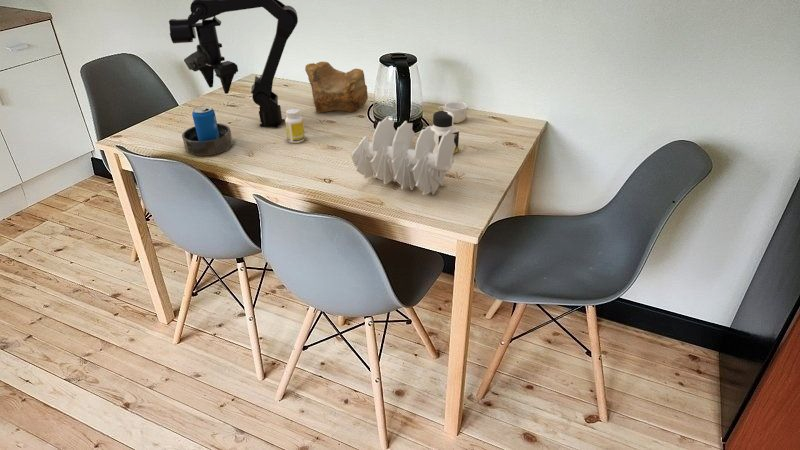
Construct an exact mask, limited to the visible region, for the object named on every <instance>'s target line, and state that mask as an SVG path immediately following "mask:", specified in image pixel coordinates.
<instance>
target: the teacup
mask: <svg viewBox="0 0 800 450" xmlns="http://www.w3.org/2000/svg"><path fill="white" fill-rule="evenodd" d="M441 108H442V109H443V111H449V112H451V113H452V114H453V115H454V121H453V124H459V123H462V122H463V121H464V120H465V119H467V116H468V109H469V105H468V104H467V103H466V102H463V101H455V100H454V101H448V102H446V103H445V104H444V105H441V106H439V107H438V111H441Z"/></svg>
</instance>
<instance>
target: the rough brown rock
mask: <svg viewBox="0 0 800 450" xmlns="http://www.w3.org/2000/svg"><path fill="white" fill-rule="evenodd" d="M304 70H305V73H306V75H307V78H308V82H309V84H310V86H311V87H310V88H311V92H312V99H313V104H314V107H315V112H317V113H326V112H330V111H343V112H350V113H351V112H355V111H357V109H361V108H362V107H363V106H365V105H366V104H367V101H368V98H369V94H368V86H367V84H366V79H365V78H366V77H365V73H364V70H363V69H360V68H353V69H351V70H349V71H346V72H345V71H342V70H339V69H336V68H334V67H333V66H332V65H331V64H330V63H329V62H328V61H318V62H316V63H314V62H312V63H307V64H306V65H305V69H304Z"/></svg>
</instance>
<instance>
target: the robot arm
mask: <svg viewBox="0 0 800 450" xmlns="http://www.w3.org/2000/svg"><path fill="white" fill-rule="evenodd" d="M257 8H263V9H264V10H266V11H267V12H268V13H269V14H270V15H271V16H273V18H275V19H276V20H277V21H276V29H275V34H274V37H273V40H272V43H271V46H270V49H269V52H268V55H267V58H266V62H265V65H264V68H263V71H262V73H261V75H260V76H259V77H258V76H257V75H255V76H254V82H253V83H252V85H251V90H250V94H252V97H251V99H252V100H253V102H254V104H256V105H258V107H259V108H258V109H259V111H258V115H259V122H260V124H259V127H261V128H262V127H263V128H275V129H276V128H277V129H278V128H279V127H280V126H281V125H282V124H283V123H284V122H285V118H283V114H282V109H281V108H282V107H281V105H280V104H279V96H278V94H276V93H275V92H273V84H274V83H273V82H274V79H275V76H276V73H277V70H278V67H279V65H280V61H281V59H282V56H283V53H284V50H285V47H286V44H287V41H288V39H289V38H290V37H291V36H292V34H293V32H294V30H295V28H296V27H297V26H298V22H299V19H298V12H297V10H296V9H295V8H294V7H293V6H291V5H286V4H284V3H283V2H281V1H280V0H192V2H191V4H190V7H189V9H190V12H191V13H190V14H189V15H188V17H187V18H182V19H181V18H180V19H179V18H178V19H177V18H170V19H169V21H168V23H169V37H170V40H171V42H172V44H187V43H193V42H194V39H195V40H196V39H198V44H197V45H196V51H194V52H192V53H191V54H189V55H188V56H186V57H185V58H184V59H183V62H184V63H185V65H186V66H187V68H188V70H189V71H193V72H198V71H199V72H200V73H201V75H202V76H203V78H204V80H205V82H206V84H207V86H208V87H209V88H210V89H211V88H213V87H214V76H215V77H216V78H218V79H219V80H220V83H221V87H222V89H223V90H222V91H223V92H224V94H225V95H227V94H229V93H230V89H231V86H232V82H233V79H234V77H235V75H236V74H237V73H238V72H239V66H238V64H236V63H235V62H234V61H230V60H226V59H225V56H222V52H221V48H223V44H222V43H220V42H219V36H218V31H217V27H220V26H221V25H222V21H221V20H220V19H218V18H217V17H216V16H218V15H221V14H224V13H229V12H237V11H244V10H251V9H257ZM200 21H201V22H200Z"/></svg>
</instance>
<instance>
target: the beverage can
mask: <svg viewBox="0 0 800 450" xmlns="http://www.w3.org/2000/svg"><path fill="white" fill-rule="evenodd" d="M191 115H192V121H193V124H194V126H195V128H196V132H197V136H198V141H209V140H214V139H217V138H220V135H219V130H218V125H217V123H218V121H217V116H216V112H215V110H214V109H213V107H212V106H211V105H204V104H203V105H198V106H196V107H193V108H192V113H191Z"/></svg>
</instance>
